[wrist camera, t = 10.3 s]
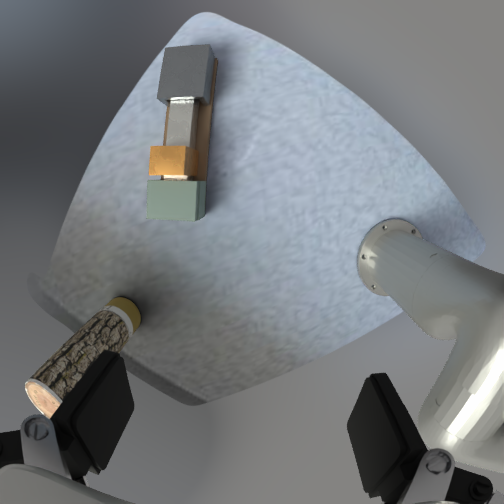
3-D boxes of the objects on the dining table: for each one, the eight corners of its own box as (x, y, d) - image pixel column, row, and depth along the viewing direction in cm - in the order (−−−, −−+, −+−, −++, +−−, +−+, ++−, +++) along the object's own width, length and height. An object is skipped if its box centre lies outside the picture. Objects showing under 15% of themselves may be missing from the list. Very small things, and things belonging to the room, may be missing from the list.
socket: (206, 181, 38) (198, 181, 33) (204, 216, 39) (196, 221, 34) (159, 179, 38) (146, 180, 33) (158, 213, 39) (145, 218, 34)
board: (217, 61, 34) (216, 58, 33) (204, 215, 40) (203, 216, 39) (176, 63, 34) (173, 60, 33) (162, 212, 40) (159, 213, 39)
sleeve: (215, 58, 33) (209, 44, 28) (209, 105, 35) (203, 96, 30) (175, 60, 33) (165, 47, 28) (168, 106, 35) (156, 98, 30)
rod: (203, 100, 34) (192, 85, 27) (195, 205, 38) (181, 211, 31) (174, 101, 34) (157, 87, 28) (166, 204, 38) (147, 209, 31)
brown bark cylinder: (147, 310, 44) (72, 410, 20) (134, 335, 46) (66, 432, 22) (116, 288, 44) (25, 370, 19) (105, 315, 45) (25, 398, 21)
